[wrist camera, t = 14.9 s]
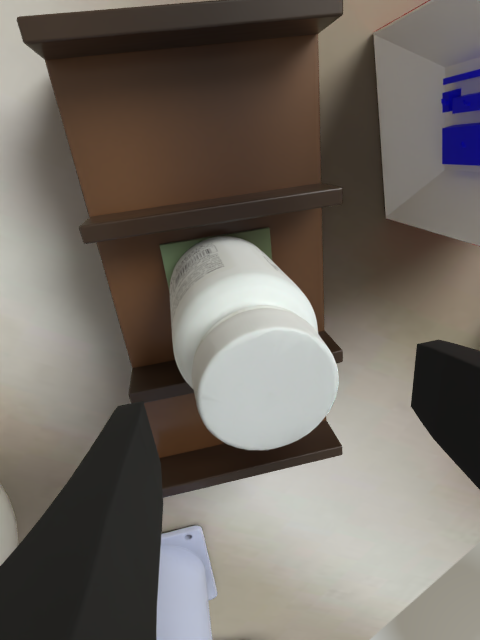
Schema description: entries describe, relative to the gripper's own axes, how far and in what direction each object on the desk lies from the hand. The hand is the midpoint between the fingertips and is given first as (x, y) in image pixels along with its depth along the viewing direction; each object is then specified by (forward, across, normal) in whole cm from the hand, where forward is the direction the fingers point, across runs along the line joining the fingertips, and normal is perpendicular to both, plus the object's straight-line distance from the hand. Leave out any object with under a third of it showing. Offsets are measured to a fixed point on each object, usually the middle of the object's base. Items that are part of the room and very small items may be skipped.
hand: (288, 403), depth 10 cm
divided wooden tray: (+10, +1, -1) cm, 10 cm away
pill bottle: (+7, +1, -1) cm, 7 cm away
